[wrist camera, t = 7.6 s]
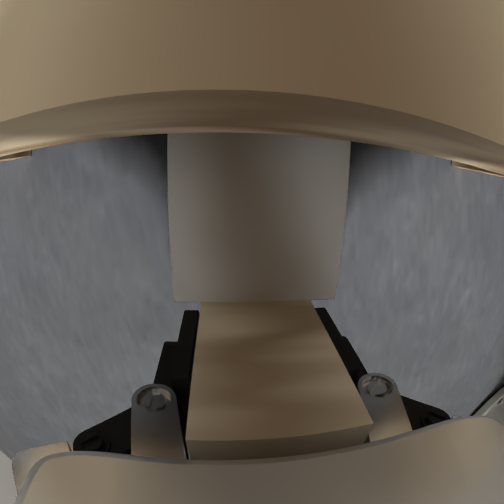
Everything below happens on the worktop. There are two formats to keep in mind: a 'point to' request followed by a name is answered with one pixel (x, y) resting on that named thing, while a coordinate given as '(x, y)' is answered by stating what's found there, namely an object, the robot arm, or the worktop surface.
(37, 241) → the worktop surface
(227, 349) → the tan piece
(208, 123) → the oak bench
